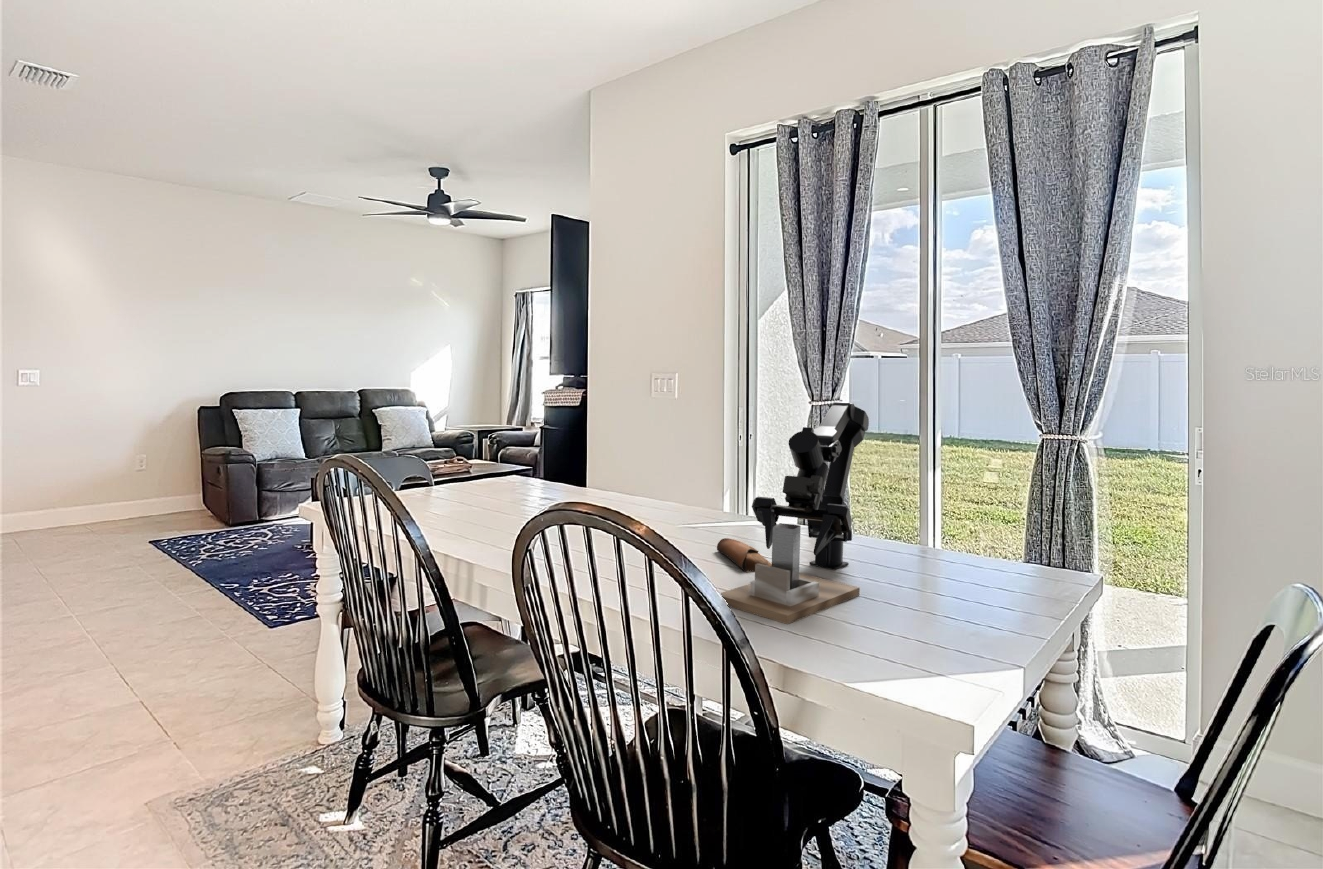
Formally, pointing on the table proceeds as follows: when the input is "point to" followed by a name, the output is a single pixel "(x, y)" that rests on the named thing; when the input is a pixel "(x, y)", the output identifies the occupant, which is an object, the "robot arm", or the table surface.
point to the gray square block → (787, 550)
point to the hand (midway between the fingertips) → (790, 550)
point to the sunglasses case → (741, 554)
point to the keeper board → (787, 595)
